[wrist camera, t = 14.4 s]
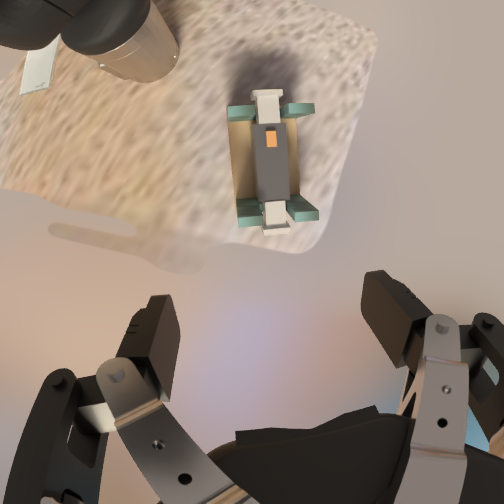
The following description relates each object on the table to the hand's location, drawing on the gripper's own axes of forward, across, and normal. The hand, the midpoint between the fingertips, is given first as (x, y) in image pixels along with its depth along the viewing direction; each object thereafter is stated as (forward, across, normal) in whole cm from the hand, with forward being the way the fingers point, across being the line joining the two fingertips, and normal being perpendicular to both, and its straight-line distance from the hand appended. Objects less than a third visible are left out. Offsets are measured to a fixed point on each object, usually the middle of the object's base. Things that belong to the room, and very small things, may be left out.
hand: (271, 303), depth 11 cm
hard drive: (+34, +34, -30) cm, 56 cm away
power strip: (+31, -4, -3) cm, 31 cm away
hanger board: (+33, -4, -3) cm, 33 cm away
